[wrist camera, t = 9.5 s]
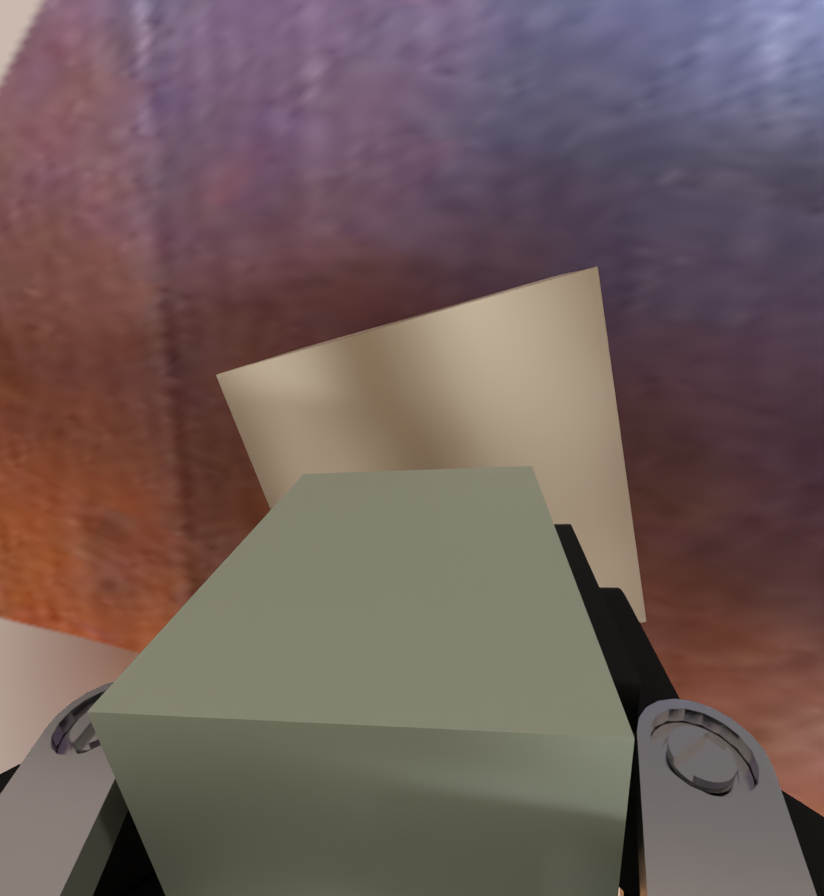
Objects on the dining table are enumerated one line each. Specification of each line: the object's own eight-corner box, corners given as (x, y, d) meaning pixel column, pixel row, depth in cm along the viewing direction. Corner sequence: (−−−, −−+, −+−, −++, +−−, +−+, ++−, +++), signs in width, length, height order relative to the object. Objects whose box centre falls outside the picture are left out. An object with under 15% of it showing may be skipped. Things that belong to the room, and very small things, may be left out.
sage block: (531, 466, 9) (635, 739, 4) (531, 655, 11) (601, 1050, 5) (303, 473, 10) (87, 712, 4) (335, 650, 11) (208, 992, 6)
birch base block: (554, 276, 17) (597, 266, 11) (595, 528, 20) (646, 621, 14) (292, 350, 19) (216, 374, 13) (367, 567, 22) (331, 661, 16)
